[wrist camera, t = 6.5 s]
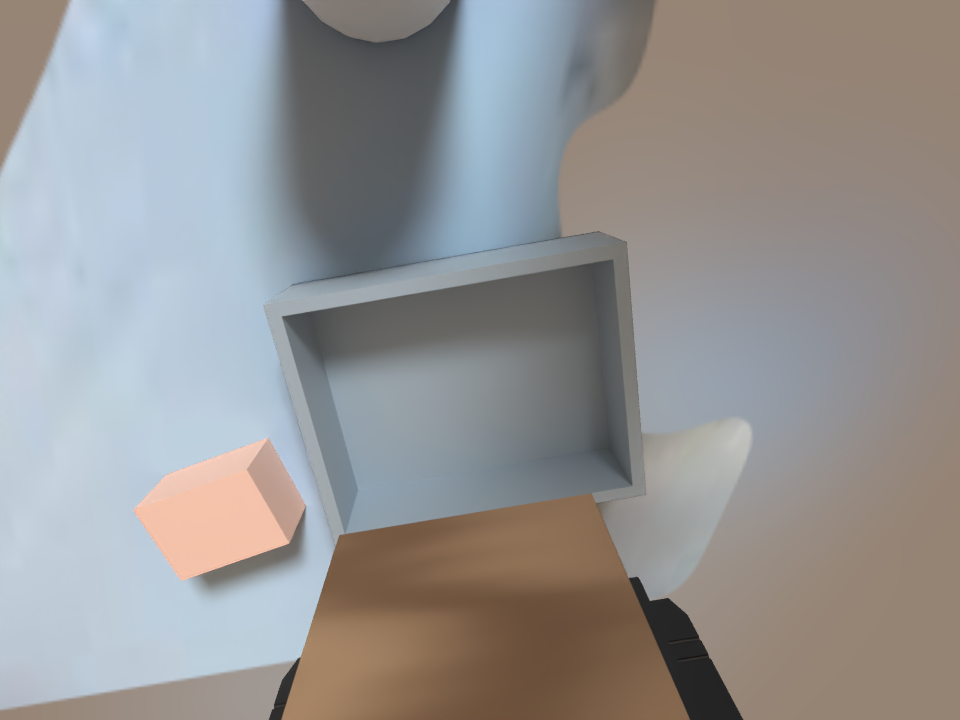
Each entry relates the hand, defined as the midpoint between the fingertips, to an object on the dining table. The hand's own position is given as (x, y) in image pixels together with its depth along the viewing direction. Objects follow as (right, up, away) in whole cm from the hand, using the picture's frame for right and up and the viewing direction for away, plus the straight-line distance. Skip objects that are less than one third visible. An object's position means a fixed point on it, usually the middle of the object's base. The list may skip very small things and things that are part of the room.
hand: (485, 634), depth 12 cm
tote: (-1, +5, +16) cm, 17 cm away
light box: (-13, -1, +18) cm, 23 cm away
